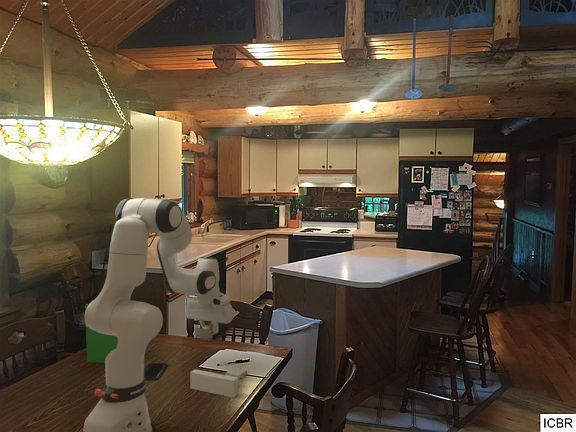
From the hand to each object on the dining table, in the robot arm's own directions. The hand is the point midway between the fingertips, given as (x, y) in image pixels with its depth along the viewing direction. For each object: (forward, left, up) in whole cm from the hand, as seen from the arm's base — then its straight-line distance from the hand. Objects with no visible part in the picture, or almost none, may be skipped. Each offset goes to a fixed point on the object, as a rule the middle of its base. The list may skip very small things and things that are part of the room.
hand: (209, 331), depth 194 cm
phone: (-14, +17, -15) cm, 27 cm away
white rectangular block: (-16, -14, -14) cm, 25 cm away
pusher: (0, 0, -2) cm, 2 cm away
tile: (-3, -14, -15) cm, 21 cm away
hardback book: (-10, +42, -15) cm, 45 cm away
